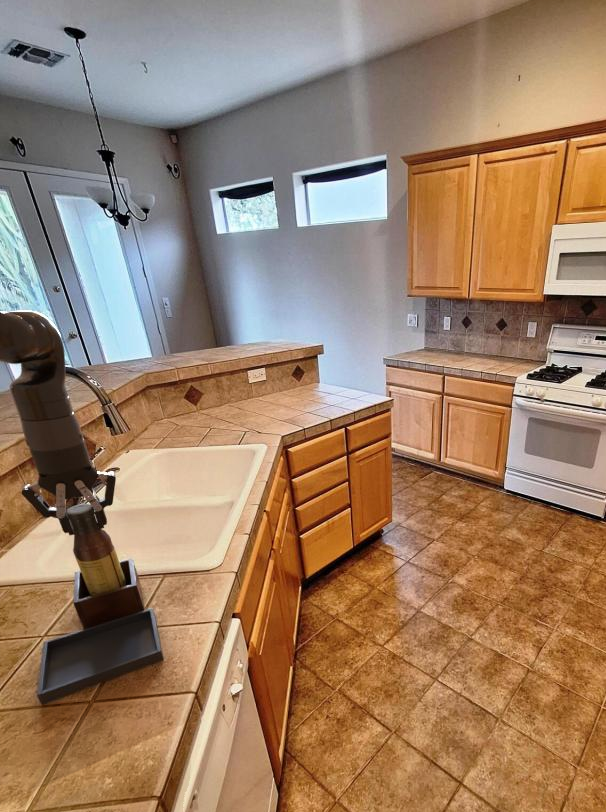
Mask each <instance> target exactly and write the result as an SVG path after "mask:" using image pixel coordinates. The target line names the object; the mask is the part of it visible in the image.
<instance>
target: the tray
mask: <svg viewBox="0 0 606 812" xmlns="http://www.w3.org/2000/svg"><path fill="white" fill-rule="evenodd" d="M164 660H165V657H164V653H163V648H162V643H161V638H160V633H159V628H158V622H157V618H156V614H155V609H154V608H153V607H151V608H147V609H145V610H144V611H141V612H138V613H135V614H131V615H128V616H125V617H122V618H119V619H115V620H112V621H109V622H106V623H103V624H99V625H96V626H93V627H90V628H87V629H83V628H82V629H81V630H77V631H74V632H71V633H67V634H64V635H61V636H57V637H55V638H52V639H48V640H45V641H43V644H42V652H41V659H40V668H39V676H38V683H37V691H36V697H37V699H38V701H39V703H40V705H45V704H48V703H51V702H53V701H57V700H58V699H61V698H64V697H67V696H69V695H72V694H75V693H77V692H81V691H83V690H87V689H89V688H91V687H95V686H97V685H100V684H102V683H104V682H107V681H110V680H112V679H116V678H118V677H120V676H124V675H126V674H129V673H132V672H134V671H137V670H140V669H143V668H146V667H148V666H150V665H153V664H156V663H159V662H161V661H164Z"/></svg>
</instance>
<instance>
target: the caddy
mask: <svg viewBox="0 0 606 812" xmlns="http://www.w3.org/2000/svg"><path fill="white" fill-rule="evenodd" d="M119 563H120V566H121V569H122V572H123V574H124V578H125V580H126V585H127V586H125V587H121V588H118V589H114V590H110V591H107V592H103V593H100V594H96V595H93V596H91V595H90V593H89V591H88V588H87V586H86V583H85V581H84V578H83V575H82V573H81V570H79V571H74V579H73V580H74V581H73V596H72V597H73V598H72V605H73V606H74V609H75V612H76V614H77V617H78V618H79V622H80V624H81V626H82V630H83V629H87V628H90V627H93V626H96V625H99V624H103V623H106V622H109V621H112V620H115V619H119V618H122V617H125V616H128V615H131V614H135V613H138V612H141V611H144V610H146V608H145V601H144V595H143V591H142V585H141V581H140V578H139V575H138V571H137V568H136V565H135V562H134V559H133V557H130V558H125V559H121V560H119Z"/></svg>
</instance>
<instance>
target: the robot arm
mask: <svg viewBox="0 0 606 812" xmlns="http://www.w3.org/2000/svg"><path fill="white" fill-rule="evenodd" d="M65 353H66V352H65V346H64V342H63V339H62V336H61V333H60V332H59V330H58V329H57V327H56V325H55V324H54V323H53V322H52V321H51V320H50V318H48V317H47V316H45V315H44V314H42V313H40V312H37V311H33V310H14V311H12V310H11V311H0V362H1V363H6V364H9V365H18V364H19V365H20V374H19V376H18V377H17V378H15V379H14V380H13V381H11V383H10V384H9V391H10V395H11V398H12V402H13V404H14V407H15V409H16V412H17V415H18V418H19V420H20V423H21V429H22V433H23V436H24V439H25V440H24V441H25V444H26V446H27V447H28V450H29V453H30V455H31V458H32V460H33V463H34V466H35V468H36V470H37V473H38V479H37V481H36V482H33V483H31V484H29V483H28V484H24V485H23V486H22V489H21V495H22V496H23V498H25V499H26V500H27V501H28V502H29V504H31V506H32V507H33V508H34V509H35V510H36V511H37V512H38V513H39V514H40V515H41V516H42V517H43V518H45V519H47V518H56V519H57V520H58V521H59V524H60V527H61V529H62V532H63V533H64V534H68V535H69V536H74V531H73V526H72V523H71V521H70V520H69V519H68V517H67V514H66V511H67V509H66V508H67V507H66V506H67V505H66V503H67V500H71V499H74V498H83V497H84V499H85V500H86V501H87V502H88V504H90V505H92V507H93V508H94V513H95V514H94V515H95V518H96V521H97V523H98V525H99V528H100V529H105V526H106V525H107V524H108V519H107V515H106V512H105V508H106V507H110V506H112V505H113V504H114V496H115V488H116V481H117V479H116V478H117V477H116V472H115V471H113V470H109V471H107V472H102V471H98V469H97V468H96V467H94V465H93V463H92V460H91V457H90V454H89V450H88V448H87V445H86V442H85V438H84V434H83V431H82V428H81V426H80V423H79V421H78V418H77V417H76V415H75V412H74V409H73V406H72V402H71V399H70V396H69V393H68V391H67V387H66V377H67V376H66V373H67V372H66V355H65ZM98 479H99V480H100V481H101V484H102V485H104V486H105V491H104V497H102V498H99V496H98V495H97V493H96V491H95V490H94V486H95V484H96V483H97V481H98ZM41 489H43V490H45V491H46V492H48V493H49V494H51V495H53V496H55V507H54V506H53V507H52V506H51V505H50V504H49V503H48V502H47V501H46V500H45V498H43V497H42V490H41Z"/></svg>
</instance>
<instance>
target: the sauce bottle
mask: <svg viewBox="0 0 606 812" xmlns="http://www.w3.org/2000/svg"><path fill="white" fill-rule="evenodd" d="M66 514H67V517H68V519H69V520H70V521H71V523H72V526H73V531H74V535H73V548H72V551H73V556H74V557H75V560H76V563H77V565H78V567H79V571H81V573H82V575H83V578H84V581H85V583H86V586H87V588H88V591H89V593H90V595H91V596H93V595H96V594H100V593H103V592H107V591H110V590H114V589H118V588H121V587H125V586H127V585H126V580H125V578H124V574H123V572H122V569H121V566H120V563H119V561H120V560H119V557H118V554H117V551H116V548H115V546H114V544H113V541H112V538H111V536H110V535H109V533H108V532H106V530H105V529H104V528H102V529H100V528H99V525H98V522H97V519H96V516H95V513H94V508H93V507H92V505H91V504H90V503H81V504H80V503H79V504H77V505H73V506H71V507H69V508H67V509H66Z"/></svg>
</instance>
